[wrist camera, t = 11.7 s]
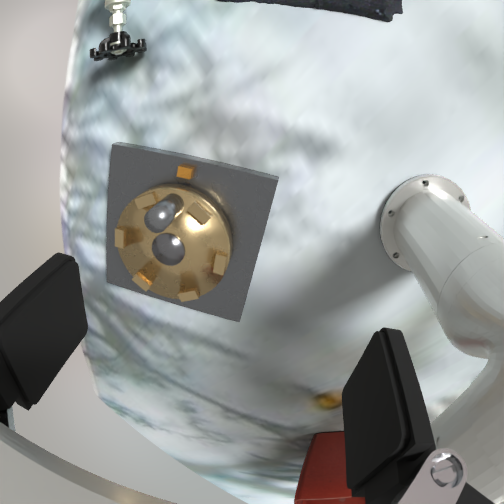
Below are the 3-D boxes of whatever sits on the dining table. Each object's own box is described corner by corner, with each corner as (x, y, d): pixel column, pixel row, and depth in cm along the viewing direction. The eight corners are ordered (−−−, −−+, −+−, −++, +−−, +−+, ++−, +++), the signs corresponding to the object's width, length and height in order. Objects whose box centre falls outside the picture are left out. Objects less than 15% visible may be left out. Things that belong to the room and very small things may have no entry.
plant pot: (378, 457, 61) (382, 516, 46) (300, 463, 64) (296, 522, 49) (393, 417, 52) (404, 489, 38) (298, 424, 56) (293, 499, 41)
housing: (278, 176, 35) (277, 182, 33) (241, 314, 44) (238, 326, 42) (119, 141, 35) (107, 145, 33) (112, 276, 45) (104, 285, 42)
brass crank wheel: (222, 300, 41) (209, 338, 35) (124, 272, 42) (98, 303, 35) (243, 198, 35) (230, 223, 28) (128, 173, 35) (94, 192, 28)
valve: (108, -18, 25) (109, 62, 31) (79, -30, 20) (78, 59, 25) (155, -33, 25) (157, 50, 30) (131, -51, 19) (130, 43, 24)
